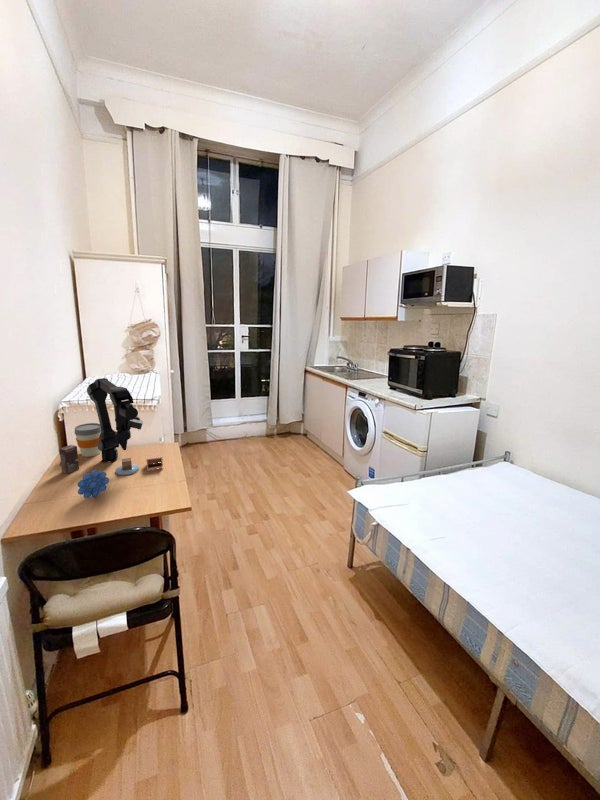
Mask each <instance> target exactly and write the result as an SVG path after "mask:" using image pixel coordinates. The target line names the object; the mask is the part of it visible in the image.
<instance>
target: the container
mask: <svg viewBox="0 0 600 800" xmlns="http://www.w3.org/2000/svg"><path fill="white" fill-rule="evenodd" d="M145 458H146V459H145V461H146V469H147V470H149V471H153V470H152V469H156V470H158V469H157V468H162V467H163V468H164V463H163V462H164V461H163V454H162V451H158V452H150V453H146V454H145ZM158 462H161V463H160V465H158V466H153V467H152V466H151V467H149V465H148V464H152V465H154V464H153V463H158Z"/></svg>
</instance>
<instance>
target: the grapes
mask: <svg viewBox="0 0 600 800" xmlns="http://www.w3.org/2000/svg"><path fill="white" fill-rule="evenodd" d="M109 483H110V478H109V477H107V472H106V471H101V472H100V470H98V469H94V470H92V471H91V473H90V472H86V473H85V474H84V475H83V476H82V479H80V480H79V481H78V482H77V487H78V489H77V494H78V495H80V496H81V495H83V496H82V497H83V498H84V499H89V498H90V497H92V498H97V497H99V496H100V493H104V492H105V491H107V485H108V484H109Z"/></svg>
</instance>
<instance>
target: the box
mask: <svg viewBox="0 0 600 800" xmlns="http://www.w3.org/2000/svg"><path fill="white" fill-rule="evenodd" d="M58 450H59V456H60V465H61V472H62V473H63V474H64V473H65V474H70V473H72V472H73V473H74V471H77V470H79V469H80V464H79V463H80V462H79V454H78V445H74V444H69V445H67V446H62V447H60V448H59V449H58Z"/></svg>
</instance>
